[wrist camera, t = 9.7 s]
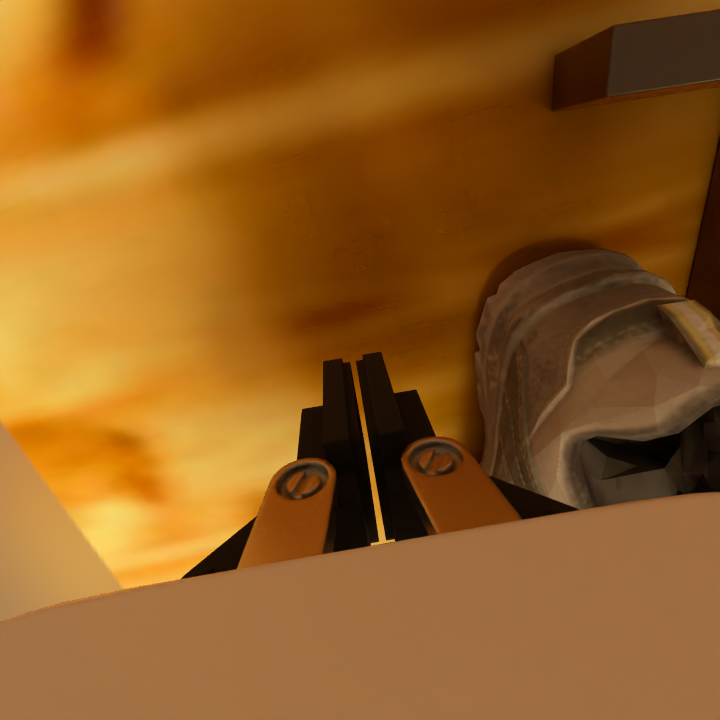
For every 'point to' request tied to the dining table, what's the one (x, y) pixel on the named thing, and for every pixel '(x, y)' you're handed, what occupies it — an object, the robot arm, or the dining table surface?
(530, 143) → the dining table surface
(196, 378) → the dining table surface
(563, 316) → the hiking shoe
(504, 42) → the dining table surface
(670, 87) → the bracket
